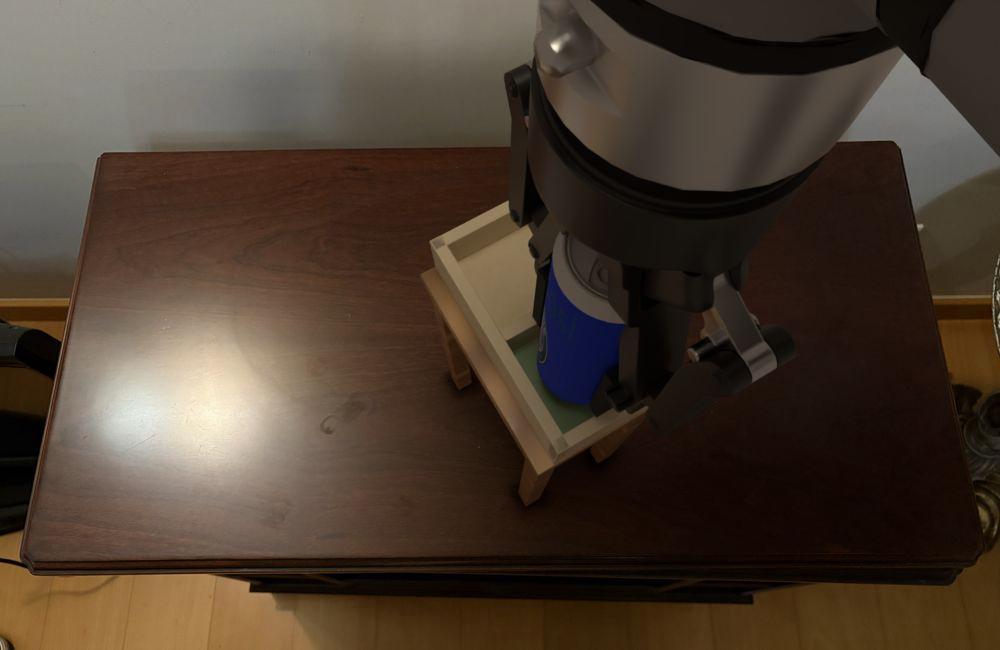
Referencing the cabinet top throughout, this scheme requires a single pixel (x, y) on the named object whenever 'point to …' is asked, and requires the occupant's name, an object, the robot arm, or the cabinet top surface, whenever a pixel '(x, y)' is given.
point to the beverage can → (577, 323)
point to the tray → (513, 324)
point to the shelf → (506, 392)
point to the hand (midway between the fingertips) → (584, 353)
